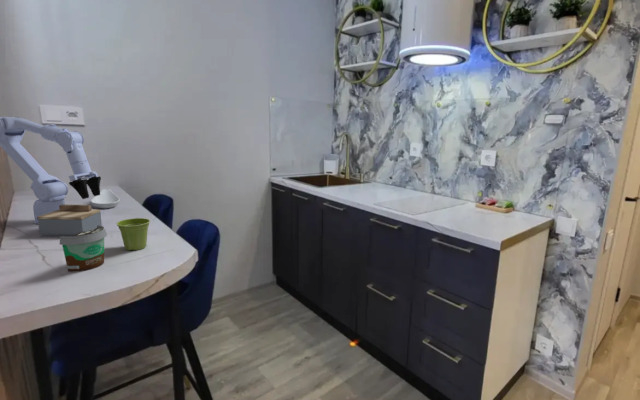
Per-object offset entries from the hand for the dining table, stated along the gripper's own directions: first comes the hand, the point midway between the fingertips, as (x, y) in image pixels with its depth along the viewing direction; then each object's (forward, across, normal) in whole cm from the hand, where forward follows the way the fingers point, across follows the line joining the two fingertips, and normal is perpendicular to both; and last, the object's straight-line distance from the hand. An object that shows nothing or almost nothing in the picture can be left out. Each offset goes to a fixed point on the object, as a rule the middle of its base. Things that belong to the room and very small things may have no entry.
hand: (91, 197), depth 130 cm
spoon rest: (+6, +35, +15) cm, 38 cm away
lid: (+4, -10, +3) cm, 11 cm away
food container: (+19, -41, -18) cm, 49 cm away
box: (+10, -10, +5) cm, 15 cm away
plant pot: (+19, -26, -23) cm, 40 cm away
